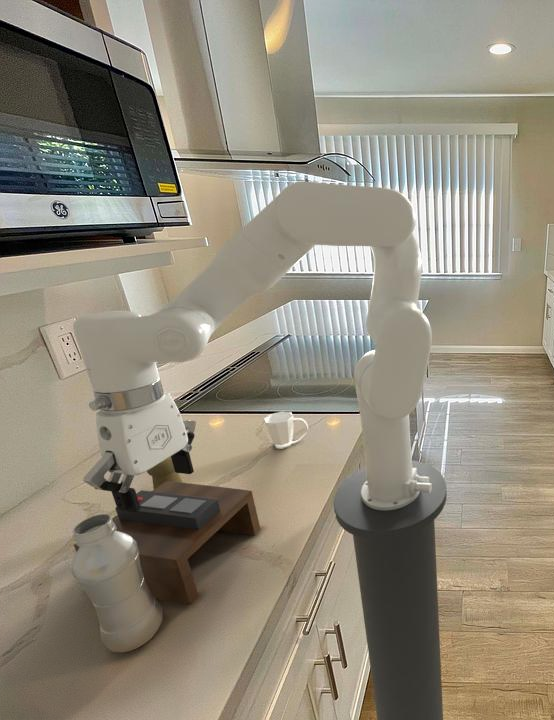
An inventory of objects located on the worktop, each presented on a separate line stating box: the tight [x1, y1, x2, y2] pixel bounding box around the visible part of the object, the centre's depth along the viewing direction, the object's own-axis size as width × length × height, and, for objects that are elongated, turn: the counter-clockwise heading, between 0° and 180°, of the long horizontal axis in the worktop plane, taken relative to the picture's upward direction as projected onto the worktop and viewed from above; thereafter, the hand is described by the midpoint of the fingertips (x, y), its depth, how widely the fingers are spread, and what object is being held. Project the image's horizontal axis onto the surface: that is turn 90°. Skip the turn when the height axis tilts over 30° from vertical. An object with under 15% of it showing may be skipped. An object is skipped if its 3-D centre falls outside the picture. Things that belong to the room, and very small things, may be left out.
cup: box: [263, 410, 309, 450], centre depth 103 cm, size 7×10×8 cm
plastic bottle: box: [71, 513, 163, 653], centre depth 53 cm, size 6×7×20 cm
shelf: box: [73, 481, 261, 606], centre depth 68 cm, size 18×16×9 cm
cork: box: [146, 456, 186, 490], centre depth 81 cm, size 6×6×11 cm
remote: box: [114, 490, 220, 530], centre depth 66 cm, size 15×5×3 cm, turn 81°
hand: (159, 490), depth 65 cm, fingers open, 9 cm apart
